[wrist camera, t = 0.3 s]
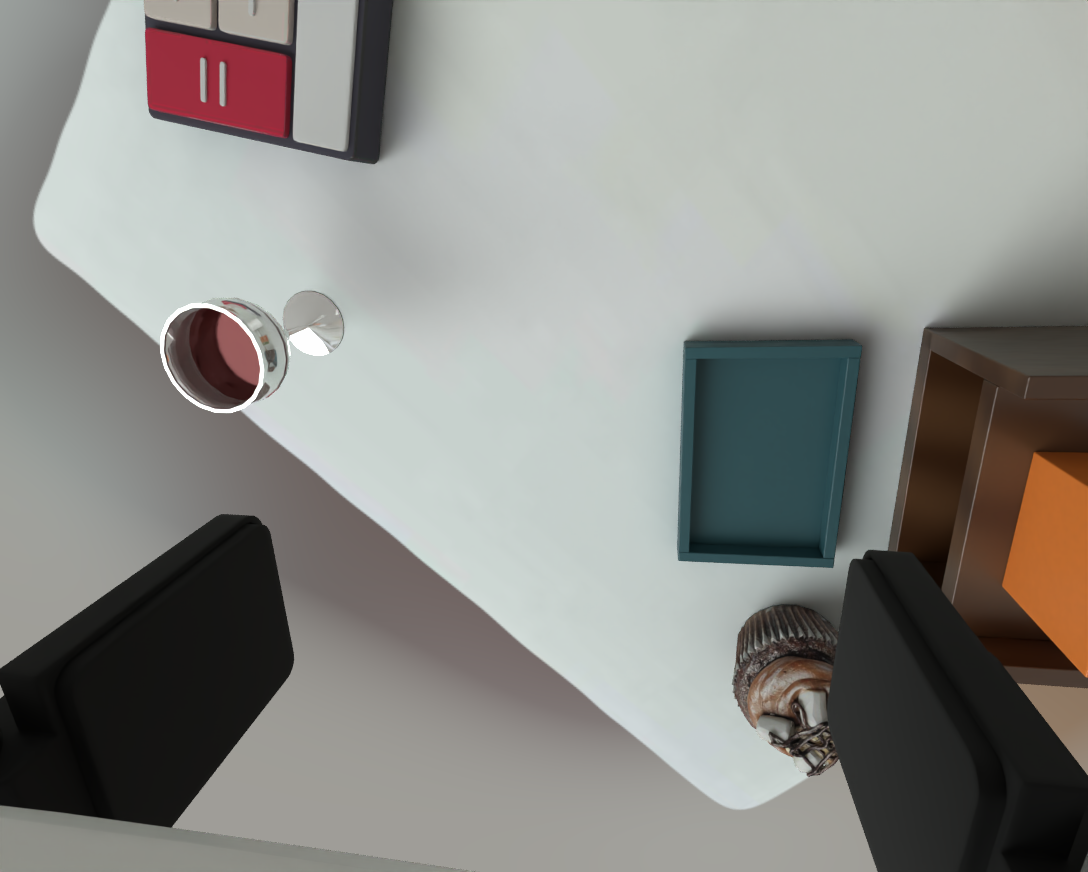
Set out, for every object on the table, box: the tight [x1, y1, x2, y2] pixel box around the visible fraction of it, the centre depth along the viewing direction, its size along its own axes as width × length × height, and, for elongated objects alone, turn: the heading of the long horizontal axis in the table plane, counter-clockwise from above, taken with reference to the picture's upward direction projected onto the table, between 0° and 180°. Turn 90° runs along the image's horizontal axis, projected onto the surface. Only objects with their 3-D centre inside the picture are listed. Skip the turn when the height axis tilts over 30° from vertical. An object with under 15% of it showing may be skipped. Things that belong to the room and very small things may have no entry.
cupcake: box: [732, 605, 839, 777], centre depth 47 cm, size 10×10×10 cm
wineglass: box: [160, 291, 344, 413], centre depth 43 cm, size 7×7×12 cm
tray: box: [677, 339, 862, 568], centre depth 45 cm, size 17×11×2 cm
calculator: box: [144, 0, 393, 164], centre depth 40 cm, size 11×4×15 cm
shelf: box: [888, 326, 1088, 688], centre depth 38 cm, size 18×12×12 cm, turn 3°
